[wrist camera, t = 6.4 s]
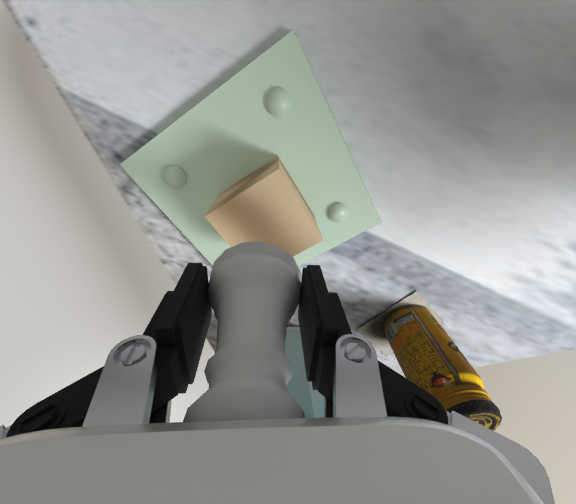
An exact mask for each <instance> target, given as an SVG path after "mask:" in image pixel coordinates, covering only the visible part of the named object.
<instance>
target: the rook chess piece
mask: <svg viewBox="0 0 576 504" xmlns="http://www.w3.org/2000/svg"><path fill="white" fill-rule="evenodd" d="M300 278H301V272H300V270H299V268H298V266H297V264H296V262H295V260H294V258H293V257H292V256H291V255H290V254H288V253H287V252H286V251H285V250H283V249H282V248H281V247H279V246H275V245H272V244H269V243H266V242H263V241H258V242H242V243H240V244H237V245H235V246H233V247H230V248H228V249H226V250H225V251H224V252H223V253H222V254H221V255H220V256H219V257H218V258H217V259H216V260H215V261H214V264H213V267H212V271H211V274H210V281H209V285H208V294H209V299H210V303H211V307H212V309H213V310H214V313H215V317H216V318H217V320H218V331H217V347H216V351H215V355H214V356H212V357H211V358H210V359H209V360H208V362H207V365H206V368H205V371H204V372H205V375H206V379H207V382H208V383H209V389H208V390H207V391H206V392H205V393H204V394H203V395H202V396H201V397H200V398H199V399H197V400H196V401H195V402H194V403H193V404H192V405H191V406H190V407H189V408H188V409H187V412H186V415H185V417H184V420H183V422H203V421H233V420H263V419H297V418H305V412H304V411H303V410H302V408H301V407H300V406H299V404H298V403H297V402H296V400H295V399H294V398H293V397H292V396H291V395H290V394H289V393H288V391H287V388H286V386H287V384H288V382H289V381H290V379H291V377H292V364H291V363H290V361H289V360H288V358H287V357H286V355H285V341H286V331H287V324H288V323H289V321H290V319H291V317H292V315H293V314H294V312H295V310H296V308H297V306H298V304H299V302H300V299H301V282H300Z"/></svg>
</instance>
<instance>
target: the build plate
mask: <svg viewBox="0 0 576 504" xmlns="http://www.w3.org/2000/svg"><path fill="white" fill-rule="evenodd" d="M276 156H279V157H280V159H281V161H282V163H283V164H284V166H285V168H286V169H287V171H288V173H289V174H290V176H291V178H292V179H293V181H294V183H295V184H296V186H297V188H298V189H299V191H300V193H301V194H302V196H303V198H304V199H305V201H306V203H307V204H308V206H309V208H310V209H311V211H312V213H313V214H314V216H315V219H316V222H317V225H318V227H319V230H320V233H321V235H322V238H323V241H321V242H319V243H317V244H315V245H313V246H312V247H310V248H308V249H306V250H304V251H302V252H301V253H299V254H297V255H295V256H293V258H294V260H295V262H296V264H297V266H300V265H302V264H304V263H306V262H308V261H309V260H311V259H313V258H315V257H317V256H319V255H321V254H323V253H324V252H326V251H328V250H330V249H332V248H334V247H336V246H338V245H339V244H341V243H343V242H345V241H347V240H349V239H351V238H352V237H354V236H356V235H358V234H360V233H362V232H364V231H366V230H367V229H369V228H371V227H373V226H375V225H377V224H379V223H380V222H381V219H380V217H379V215H378V213H377V211H376V209H375V206H374V204H373V202H372V200H371V198H370V195H369V193H368V191H367V189H366V187H365V185H364V182H363V180H362V178H361V176H360V174H359V171H358V169H357V167H356V165H355V163H354V161H353V158H352V156H351V154H350V152H349V150H348V147H347V145H346V143H345V141H344V139H343V137H342V134H341V132H340V130H339V128H338V126H337V123H336V121H335V119H334V117H333V115H332V113H331V110H330V108H329V106H328V104H327V102H326V99H325V97H324V95H323V93H322V91H321V89H320V86H319V84H318V82H317V80H316V78H315V75H314V73H313V71H312V69H311V67H310V65H309V62H308V60H307V58H306V56H305V54H304V51H303V49H302V47H301V45H300V43H299V41H298V38H297V36H296V34H295V32H294V30H292V31H291V32H289V33H288V34H287V35H286V36H284V37H283V38H282V39H280V40H279V41H278V42H277V43H275V44H274V45H273V46H271V47H270V48H269V49H268V50H266V51H265V52H264V53H262V54H261V55H260V56H259V57H257V58H256V59H255V60H253V61H252V62H251V63H250V64H248V65H247V66H246V67H244V68H243V69H242V70H241V71H239V72H238V73H237V74H235V75H234V76H233V77H232V78H230V79H229V80H228V81H226V82H225V83H224V84H223V85H221V86H220V87H219V88H217V89H216V90H215V91H214V92H212V93H211V94H210V95H208V96H207V97H206V98H205V99H203V100H202V101H201V102H199V103H198V104H197V105H196V106H194V107H193V108H192V109H190V110H189V111H188V112H186V113H185V114H184V115H183V116H181V117H180V118H179V119H177V120H176V121H175V122H174V123H172V124H171V125H170V126H168V127H167V128H166V129H165V130H163V131H162V132H161V133H159V134H158V135H157V136H156V137H154V138H153V139H152V140H150V141H149V142H148V143H147V144H145V145H144V146H143V147H141V148H140V149H139V150H138V151H136V152H135V153H134V154H132V155H131V156H130V157H129V158H127V159H126V160H125V161H123V162H122V163H121V164H120V166H121V167H122V168H123V169H124V170H125V171H126V172H127V174H128V175H129V176H130V177H131V178H132V179H133V180H134V181H135V182H136V183H137V184H138V185H139V186H140V188H141V189H142V190H143V191H144V192H145V193H146V194H147V195H148V196H149V197H150V198H151V199H152V201H153V202H154V203H155V204H156V205H157V206H158V207H159V208H160V209H161V210H162V211H163V212H164V214H165V215H166V216H167V217H168V218H169V219H170V220H171V221H172V222H173V223H174V224H175V225H176V227H177V228H178V229H179V230H180V231H181V232H182V233H183V234H184V235H185V236H186V237H187V238H188V240H189V241H190V242H191V243H192V244H193V245H194V246H195V247H196V248H197V249H198V250H199V251H200V253H201V254H202V255H203V256H204V257H205V258H206V259H207V260H208V261H209V262H210V263H211V264H212V266H213V264H214V261H215V260H216V259H217V258H218V257H219V256H220V255H221V254H222V253H223V252H224V251H225V250H226V249H228V248H230V246H229V245H228V244H227V243H226V241H225V240H224V239H223V238H222V237H221V235H220V234H219V233H218V232H217V231H216V229H215V228H214V227H213V226H212V225H211V223H210V222H209V221H208V220H207V219H206V218H205V215H206V214H207V212H208V211H209V209H210V207H211V206H212V204H213V203H214V201H215V199H216V198H217V196H218V195H219V194H220V193H222V192H223V191H225V190H226V189H228V188H229V187H231V186H232V185H234V184H235V183H237V182H238V181H240V180H241V179H243V178H244V177H246V176H247V175H249V174H250V173H252V172H253V171H255V170H256V169H258V168H259V167H261V166H263V165H264V164H266V163H267V162H269V161H270V160H272V159H273V158H275V157H276Z"/></svg>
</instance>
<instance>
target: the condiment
mask: <svg viewBox="0 0 576 504" xmlns="http://www.w3.org/2000/svg"><path fill="white" fill-rule="evenodd" d="M381 320H383V321H381ZM441 325H444V323H443V322H442V321H441V319H440V318H439V317H438V316H437V314H436V313H435V312H434V311H433V310H432V308H431V307H430V306H429V305H428V304H427V302H426V301H425V300H424V299H423V298H422V296H421V295H420V294H419V293H418V292H415V293H413V294H412V295H410V296H408V297H406V298H405V299H403V300H401V301H400V302H398V303H396V304H395V305H393V306H392V307H390V308H389V309H387V310H386V311H384V312H383V313H382V314H381V315H379V316H377V317H375V318H374V319H372V320H370V321H369V322H367V323H366V324H365V325H363V326H362V327H360V328H358V329H357V331H358V332H359V333H361V334H362V335H363V336H364V337H365V338H366V339H367V340H369V341H370V342H371V343H372V344H373V345H374V346H375V347H376V348H377V349H378V350H380V351H381V352H382V353H383V354H384V355H385V356H388V355H390V354H392V353H394V354H395V356H396V358H397V360H398V363H399V365H400V367H401V369H402V371H403V373H404V375H405V377H406V379H408V380H409V381H411V382H413V383H414V384H416V385H417V386H419V387H420V388H422V389H424V390H425V391H427V392H428V393H430V394H431V395H432V396H434V397H435V398H436V399H437V400H438V401H439V402H440V403H441V404H442V405H443V407H444V409H445V411H447V412H449V413H452V411H455V412H457V413H459V414H461V415H463V416H465V417H467V418H469V419H471V420H473V421H475V422H477V423H479V424H481V425H483V426H484V427H486V428H488V429H490V430H492V431H494V430H495V429H496V428H497V427H498V426H499V425H500V422H501V419H502V417H501V415H500V411H499V409H498V408H497V406H495V404H494V403H493V402H492V401H491V399H490V397H489V395H488V394H487V392H486V391H485V390H483V389H484V386H483V382H482V380H481V378H480V376H479V375H478V374H477V373H476V371H475V370H474V369H473V368H472V366H471V365H470V364H469V362H468V361H467V359H466V358H465V357H464V355H463V354H462V353H461V352H460V350H459V349H458V347H457V346H456V345H455V344H454V343H453V341H452V340H451V338H450V337H449V336H448V335H447V333H446V332H445V330H444V329H443V328H442V326H441Z"/></svg>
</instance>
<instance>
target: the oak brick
mask: <svg viewBox="0 0 576 504" xmlns="http://www.w3.org/2000/svg"><path fill="white" fill-rule="evenodd" d="M205 218H206V219H207V220H208V221H209V222H210V223H211V225H212V226H213V227H214V228H215V229H216V231H217V232H218V233H219V234H220V235H221V237H222V238H223V239H224V240H225V241H226V243H227V244H228V245H229V246H230V247H233V246H235V245H237V244H240V243H242V242H258V241H263V242H266V243H269V244H272V245H275V246H279V247H281V248H282V249H283V250H285V251H286V252H287V253H288V254H290V255H291V256H292V257H293V256H295V255H297V254H299V253H301V252H302V251H304V250H306V249H308V248H310V247H312V246H313V245H315V244H317V243H319V242H321V241H323V238H322V235H321V233H320V230H319V227H318V225H317V222H316V219H315V216H314V214H313V213H312V211H311V209H310V208H309V206H308V204H307V203H306V201H305V199H304V198H303V196H302V194H301V193H300V191H299V189H298V188H297V186H296V184H295V183H294V181H293V179H292V178H291V176H290V174H289V173H288V171H287V169H286V168H285V166H284V164H283V163H282V161H281V159H280V157H279V156H276V157H275V158H273V159H272V160H270V161H269V162H267V163H266V164H264V165H263V166H261V167H259V168H258V169H256V170H255V171H253V172H252V173H250V174H249V175H247V176H246V177H244V178H243V179H241V180H240V181H238V182H237V183H235V184H234V185H232V186H231V187H229V188H228V189H226V190H225V191H223V192H222V193H220V194H219V195H218V196H217V198H216V199H215V201H214V203H213V204H212V206H211V207H210V209H209V211H208V212H207V214H206V215H205Z"/></svg>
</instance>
